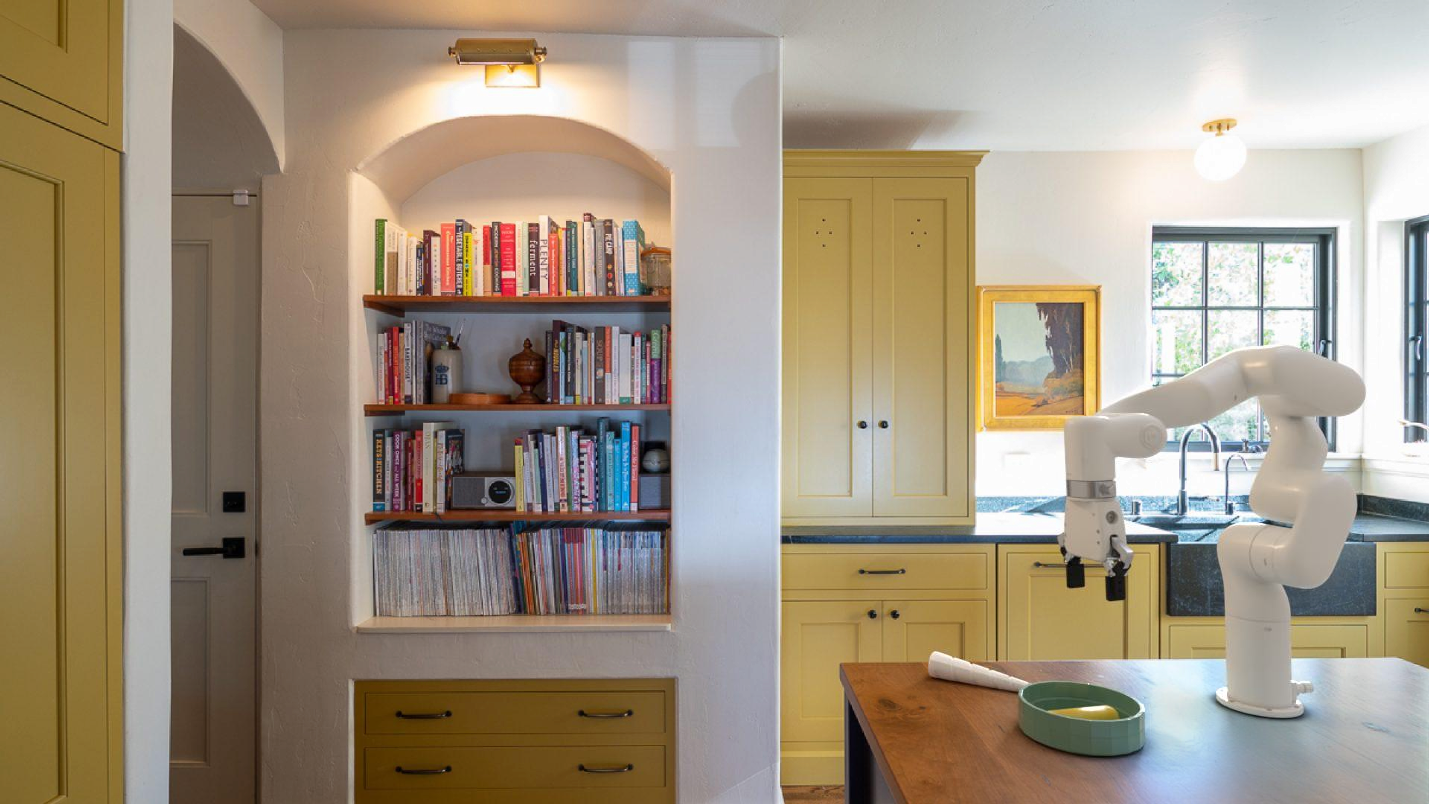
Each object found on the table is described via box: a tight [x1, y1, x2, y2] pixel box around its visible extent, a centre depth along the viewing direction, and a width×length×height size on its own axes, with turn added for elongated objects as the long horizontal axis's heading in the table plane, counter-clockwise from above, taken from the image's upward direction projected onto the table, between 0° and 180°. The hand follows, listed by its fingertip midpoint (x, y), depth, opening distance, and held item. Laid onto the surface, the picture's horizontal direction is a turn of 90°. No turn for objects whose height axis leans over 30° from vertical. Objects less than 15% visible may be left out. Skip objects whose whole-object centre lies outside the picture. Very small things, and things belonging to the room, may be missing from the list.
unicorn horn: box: [927, 651, 1032, 693], centre depth 150 cm, size 5×24×5 cm, turn 52°
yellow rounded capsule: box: [1048, 705, 1119, 720], centre depth 128 cm, size 14×4×4 cm, turn 102°
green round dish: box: [1017, 680, 1146, 757], centre depth 129 cm, size 18×18×6 cm
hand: (1095, 593), depth 133 cm, fingers open, 9 cm apart
